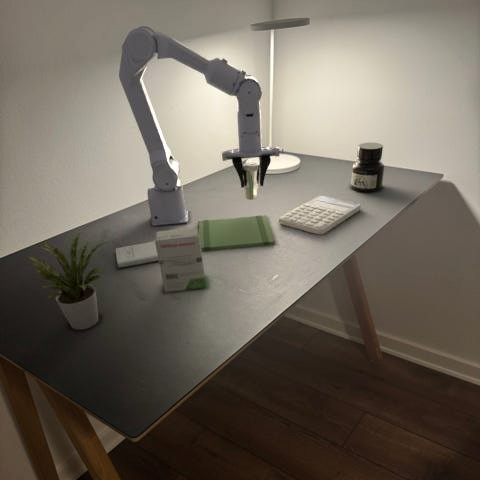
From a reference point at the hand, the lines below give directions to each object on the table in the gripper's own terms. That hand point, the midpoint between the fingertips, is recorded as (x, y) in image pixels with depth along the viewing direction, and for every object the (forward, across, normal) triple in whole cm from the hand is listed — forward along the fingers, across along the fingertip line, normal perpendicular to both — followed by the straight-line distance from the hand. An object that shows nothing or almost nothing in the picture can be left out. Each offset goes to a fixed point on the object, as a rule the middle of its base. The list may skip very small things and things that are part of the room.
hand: (251, 185), depth 118 cm
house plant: (+8, -36, -44) cm, 58 cm away
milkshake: (+4, 0, 0) cm, 4 cm away
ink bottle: (+8, +35, +12) cm, 38 cm away
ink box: (+8, -18, -36) cm, 41 cm away
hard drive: (+8, -28, -20) cm, 35 cm away
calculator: (+8, +17, -7) cm, 20 cm away
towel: (+8, -6, -12) cm, 16 cm away
